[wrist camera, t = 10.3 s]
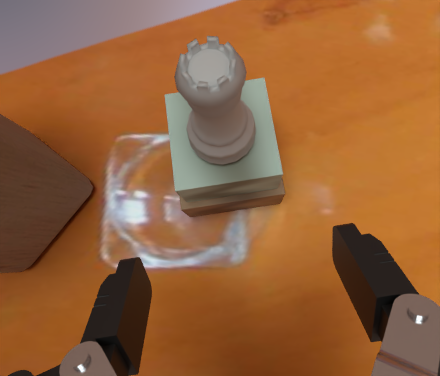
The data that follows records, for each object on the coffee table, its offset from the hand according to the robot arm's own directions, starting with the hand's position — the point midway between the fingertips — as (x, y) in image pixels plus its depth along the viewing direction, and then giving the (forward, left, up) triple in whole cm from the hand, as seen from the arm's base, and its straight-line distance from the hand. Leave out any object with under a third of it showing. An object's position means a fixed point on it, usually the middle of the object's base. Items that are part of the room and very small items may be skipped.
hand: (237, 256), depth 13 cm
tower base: (0, +8, -14) cm, 17 cm away
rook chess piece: (0, +8, -7) cm, 10 cm away
